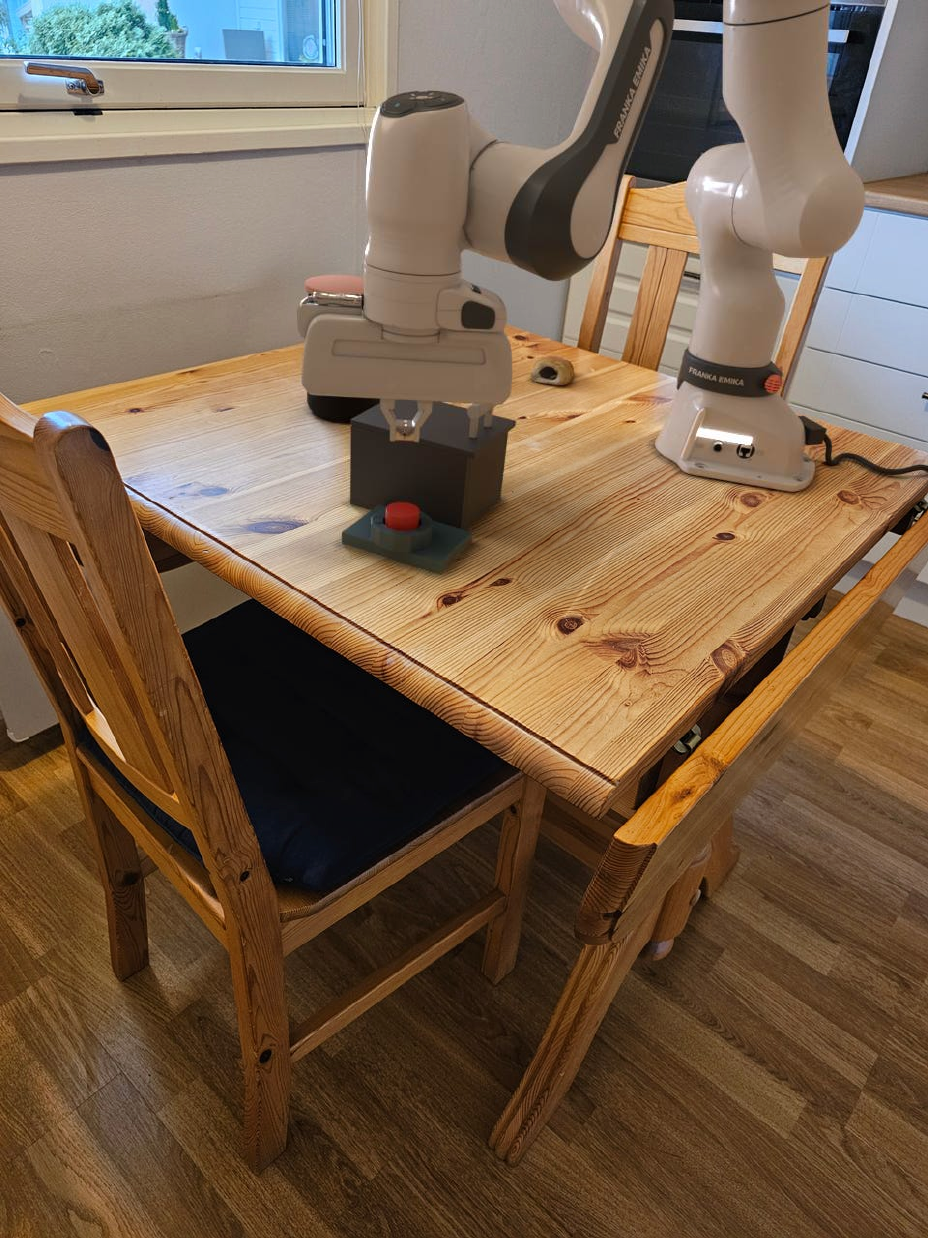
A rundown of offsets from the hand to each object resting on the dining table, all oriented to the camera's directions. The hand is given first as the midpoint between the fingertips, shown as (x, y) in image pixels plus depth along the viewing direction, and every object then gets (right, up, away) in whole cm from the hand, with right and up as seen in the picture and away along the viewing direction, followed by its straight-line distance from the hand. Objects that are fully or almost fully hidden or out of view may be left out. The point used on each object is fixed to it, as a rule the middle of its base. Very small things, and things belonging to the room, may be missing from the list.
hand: (404, 439), depth 86 cm
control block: (0, -10, +8) cm, 13 cm away
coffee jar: (-12, +12, +40) cm, 43 cm away
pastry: (+21, +23, +61) cm, 68 cm away
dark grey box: (+1, -4, +17) cm, 18 cm away
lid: (+3, +4, +12) cm, 13 cm away
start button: (-1, -8, +5) cm, 10 cm away
